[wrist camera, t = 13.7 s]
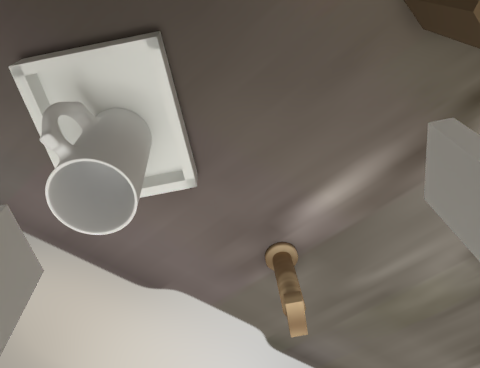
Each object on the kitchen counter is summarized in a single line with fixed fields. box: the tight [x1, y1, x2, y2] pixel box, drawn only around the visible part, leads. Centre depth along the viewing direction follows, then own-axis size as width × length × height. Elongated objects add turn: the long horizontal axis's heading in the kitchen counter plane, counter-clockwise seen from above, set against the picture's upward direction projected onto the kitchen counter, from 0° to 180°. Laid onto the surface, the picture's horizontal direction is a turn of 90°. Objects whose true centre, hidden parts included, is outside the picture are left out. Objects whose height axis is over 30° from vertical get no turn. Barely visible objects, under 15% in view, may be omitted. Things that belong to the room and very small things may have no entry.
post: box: [265, 242, 308, 337], centre depth 47 cm, size 5×4×10 cm
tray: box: [8, 31, 198, 198], centre depth 40 cm, size 15×13×3 cm
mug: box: [39, 102, 152, 235], centre depth 35 cm, size 10×7×12 cm, turn 32°
